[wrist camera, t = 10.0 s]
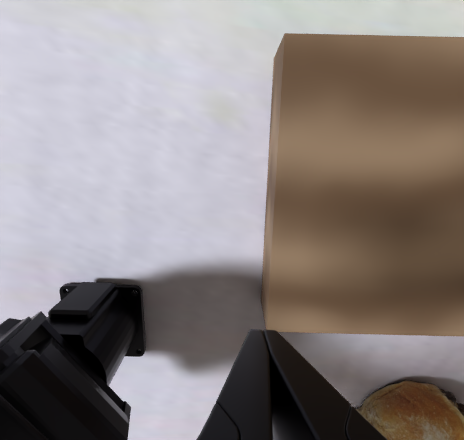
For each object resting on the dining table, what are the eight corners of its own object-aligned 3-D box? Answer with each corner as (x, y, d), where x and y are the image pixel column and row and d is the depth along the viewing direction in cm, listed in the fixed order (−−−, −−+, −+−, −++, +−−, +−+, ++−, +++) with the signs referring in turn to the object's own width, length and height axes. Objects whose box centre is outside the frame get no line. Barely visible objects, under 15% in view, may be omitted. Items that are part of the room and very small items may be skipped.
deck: (430, 304, 22) (470, 336, 19) (260, 300, 23) (266, 331, 19) (484, 63, 18) (552, 39, 14) (273, 58, 18) (284, 33, 14)
